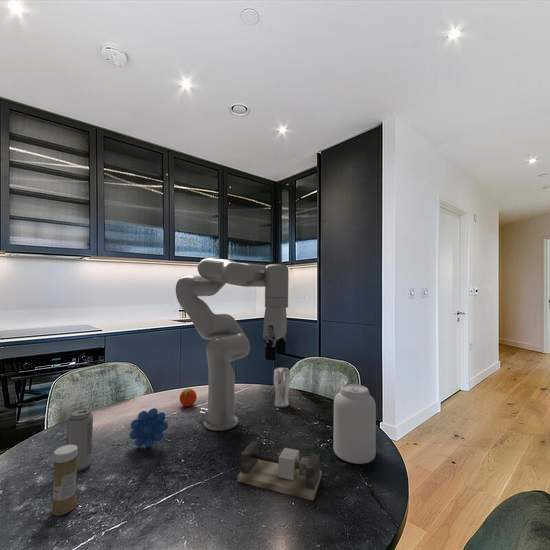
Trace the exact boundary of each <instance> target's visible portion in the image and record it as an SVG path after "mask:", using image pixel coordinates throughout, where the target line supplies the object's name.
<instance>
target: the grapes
mask: <svg viewBox="0 0 550 550" xmlns="http://www.w3.org/2000/svg"><path fill="white" fill-rule="evenodd" d="M165 420H166V413H165V412H162V411H161V412H158V409H157V408H154V407H151V409H149V410H148V411H146V410H142V411H140V412H139V413H138V414H137V418H135V419H134V420H132V422H130V429H132V430H131V431H130V433H129V439H130V440H132V441H133V440H134V445H135V446H136V447H138V448H140V447H142V446H144V447H146V448H151V447H153V446H154V444H155V442H157V443H158V442H161V441H162V440H163V438H164V434H165V433H164V432H165V431H166V430H167V429H168V427H169V423H168V422H167V421H165Z"/></svg>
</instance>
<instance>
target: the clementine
mask: <svg viewBox="0 0 550 550" xmlns="http://www.w3.org/2000/svg"><path fill="white" fill-rule="evenodd" d="M179 401H180V404H181V405H182V406H184V407H191V406H193V405H194V404H195V403H196V401H197V392H196V391H195V390H194V389H192V388H186V389H184V390H182V391H181V393H180V395H179Z"/></svg>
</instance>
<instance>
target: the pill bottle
mask: <svg viewBox="0 0 550 550" xmlns="http://www.w3.org/2000/svg"><path fill="white" fill-rule="evenodd" d="M77 453H78V447H77V446H76V445H67V444H65V445H62V446H59V447H58V448H56V449H55V450H54V452H53V457H52V461H53V464H54V465H53V479H52V480H53V483H52V508H51V514H52V515H53V516H56V517H59V516H63V515H66V514H68V513H70V512H72V511H73V509H75V507H76V490H77V472H76V458H77Z"/></svg>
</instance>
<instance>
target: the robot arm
mask: <svg viewBox="0 0 550 550" xmlns="http://www.w3.org/2000/svg"><path fill="white" fill-rule="evenodd" d="M197 272H198V275H185V276H183V277H180V278H179V279H178V280H177V281H176V284H175V297H176V299H177V301H178V304H179V306H180V307H181V308H182V310H183V311H184V312H185V314H187V316H188V317H189V319H190V320H191V323H192V325H193V327H194V328H195V330H196V331H197V332H198V335H199V336H200V337H201V338H202V339H203V340H206V341H208V340H209V342H208V343H207V345H206V348H205V349H206V350H205V354H206V360H207V369H208V371H207V372H208V378H207V379H208V386H207V387H208V388H207V389H208V391H207V393H208V395H207V400H208V401H207V402H208V403H207V408H206V407H201V408H200V411H199V414H198V415H199V416H202V417H205V418H204V420H203V421H202V422H203V427H204V428H206V429H207V430H210V431H216V432H219V431H220V432H221V431H227V430H232V429H233V428H235V427H236V426H238V424H239V418H238V416H236V415H235V391H236V390H235V388H236V387H235V384H236V383H235V380H236V379H235V378H236V377H235V370H234V368H233V367H232V364H231V362H233V361H236V360H241V359H243V358H246V357H247V356H248V355H249V353H250V351H251V344H250V340H249V338H248V337H247V335H246V334H245V332H244V331H243V329H242V327H241V326H240V325H239V323H238V322H237V320H236V319H235V318H234V317H233V316H232V315H230V314H227V313H218V314H217V313H215V312H213V311H212V310H211V308H210V307H209V305H208V303H206V302H205V301H204V300H202V298H199V297H211V296H212V297H213V296H214V295H216V294H217V293H219V292H220V290H221V289H222V288H223V287H224V286H225V285H226V284H228V285H233V286H238V287H243V288H244V287H245V288H246V287H247V288H248V287H259V288H262V287H263V288H264V308H265V309H264V317H263V331H262V338H263V339H264V348H265V353H264V354H265V355H264V359H265V361H276V358H277V357H276V355H277V354H282V355H285V354H286V352H287V348H286V347H287V346H286V345H287V344H286V343H287V342H286V341H287V337H286V335H287V328H288V320H287V319H288V318H287V315H288V314H287V308H289V279H290V278H289V273H290V271H289V267H288V265H286V264H284V263H283V264H282V263H281V264H280V263H273V264H272V263H270V264H259V263H247V262H236V261H235V260H232V259H225V258H224V259H223V258H214V257H207V258H204V259H202V260H200V262H199V263H198V265H197Z"/></svg>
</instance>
